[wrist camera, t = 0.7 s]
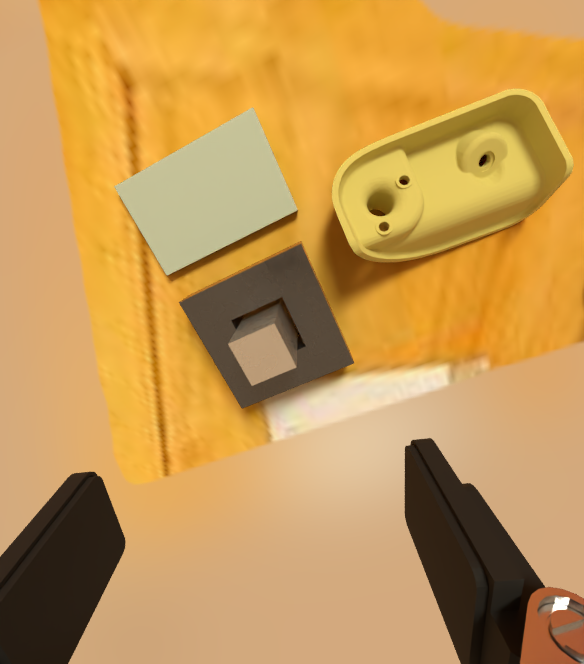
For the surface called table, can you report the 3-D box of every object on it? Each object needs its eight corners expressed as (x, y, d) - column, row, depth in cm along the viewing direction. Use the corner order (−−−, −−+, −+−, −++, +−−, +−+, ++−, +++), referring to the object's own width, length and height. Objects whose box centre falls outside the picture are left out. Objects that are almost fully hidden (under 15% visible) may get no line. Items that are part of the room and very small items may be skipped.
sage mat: (254, 110, 31) (253, 107, 30) (297, 210, 34) (297, 210, 33) (119, 187, 34) (114, 186, 33) (170, 274, 37) (166, 275, 36)
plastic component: (531, 79, 28) (584, 178, 27) (489, 139, 35) (529, 219, 34) (317, 164, 29) (356, 263, 28) (319, 205, 37) (350, 285, 35)
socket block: (301, 241, 35) (301, 243, 31) (349, 349, 39) (354, 363, 35) (191, 294, 38) (179, 302, 34) (247, 391, 42) (241, 408, 38)
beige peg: (281, 297, 37) (274, 323, 28) (297, 331, 39) (296, 367, 29) (245, 313, 38) (227, 344, 29) (263, 346, 39) (251, 385, 30)
